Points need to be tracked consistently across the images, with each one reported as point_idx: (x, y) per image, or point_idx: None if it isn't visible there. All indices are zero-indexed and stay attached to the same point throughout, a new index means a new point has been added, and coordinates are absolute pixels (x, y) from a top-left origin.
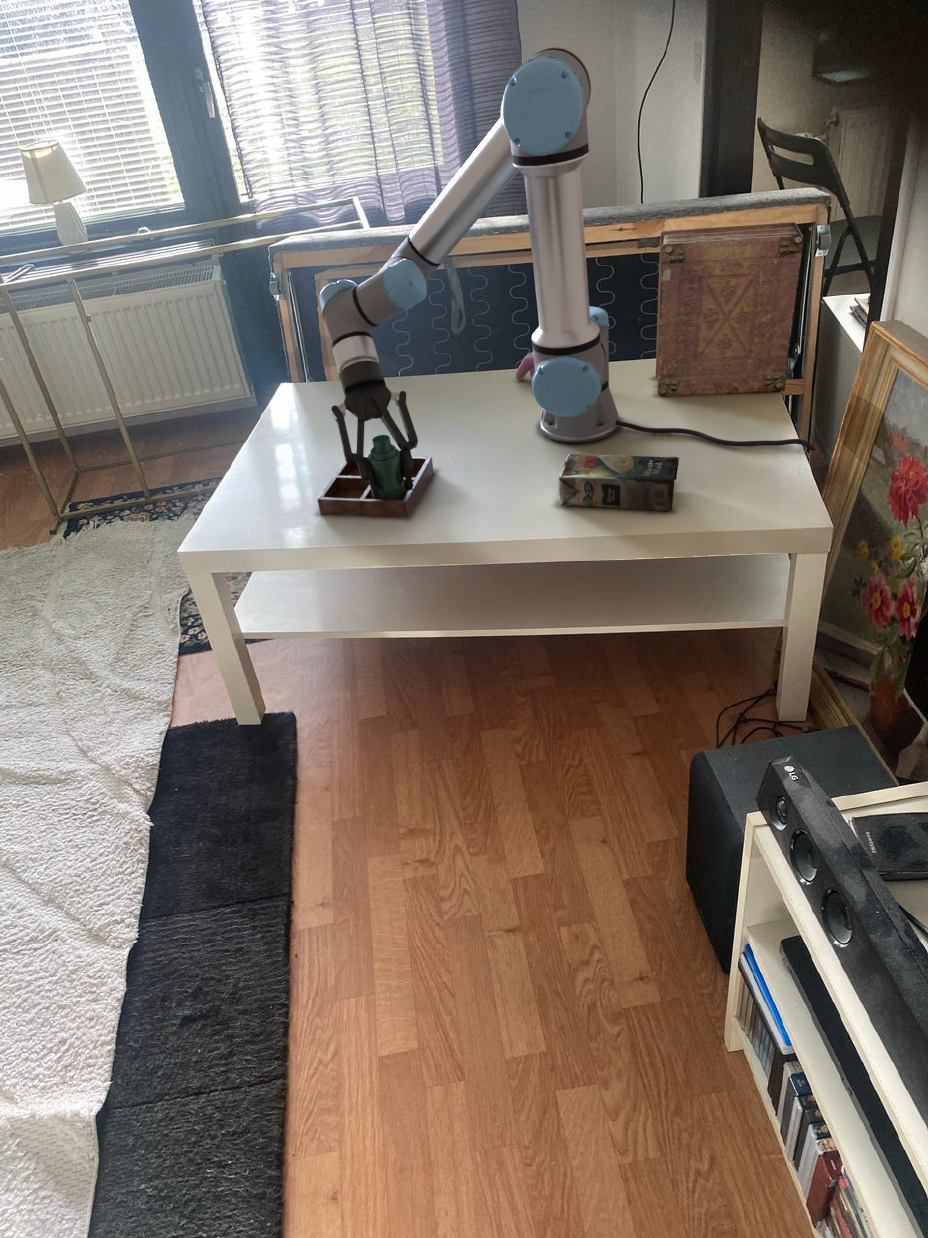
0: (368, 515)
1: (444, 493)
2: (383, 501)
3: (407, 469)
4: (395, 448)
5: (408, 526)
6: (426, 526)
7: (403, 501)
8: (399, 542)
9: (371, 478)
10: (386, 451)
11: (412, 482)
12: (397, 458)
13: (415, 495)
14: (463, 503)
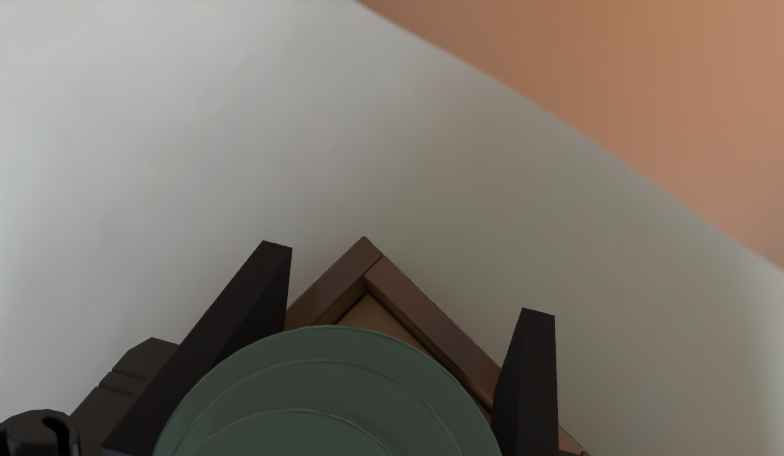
0: None
1: (77, 363)
2: (472, 342)
3: (220, 312)
4: (183, 435)
5: (411, 188)
6: (340, 132)
7: (369, 256)
8: (514, 92)
9: (539, 396)
10: (319, 406)
11: (257, 248)
12: (248, 346)
13: None
14: (75, 201)
